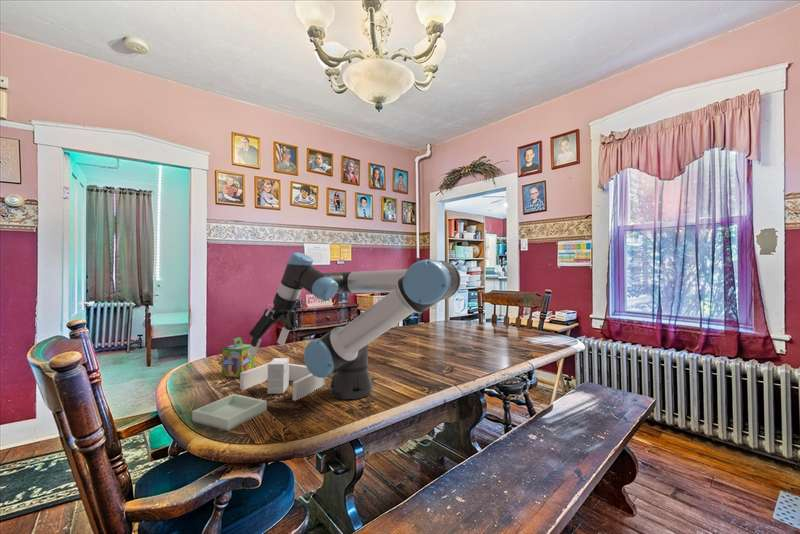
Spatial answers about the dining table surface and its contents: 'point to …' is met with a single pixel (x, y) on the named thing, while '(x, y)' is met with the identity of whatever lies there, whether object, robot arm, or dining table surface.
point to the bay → (297, 373)
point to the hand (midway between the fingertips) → (266, 348)
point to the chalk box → (236, 359)
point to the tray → (229, 411)
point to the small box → (278, 375)
